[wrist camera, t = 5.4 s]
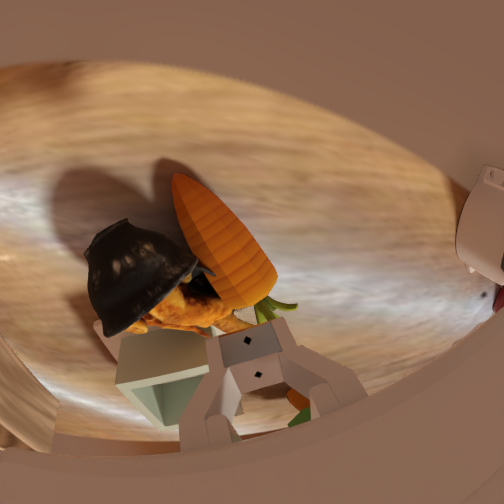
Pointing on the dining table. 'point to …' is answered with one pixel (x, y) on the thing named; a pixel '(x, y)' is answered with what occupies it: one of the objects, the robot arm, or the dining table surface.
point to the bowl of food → (151, 285)
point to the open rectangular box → (160, 370)
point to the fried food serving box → (24, 406)
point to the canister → (499, 301)
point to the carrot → (226, 250)
